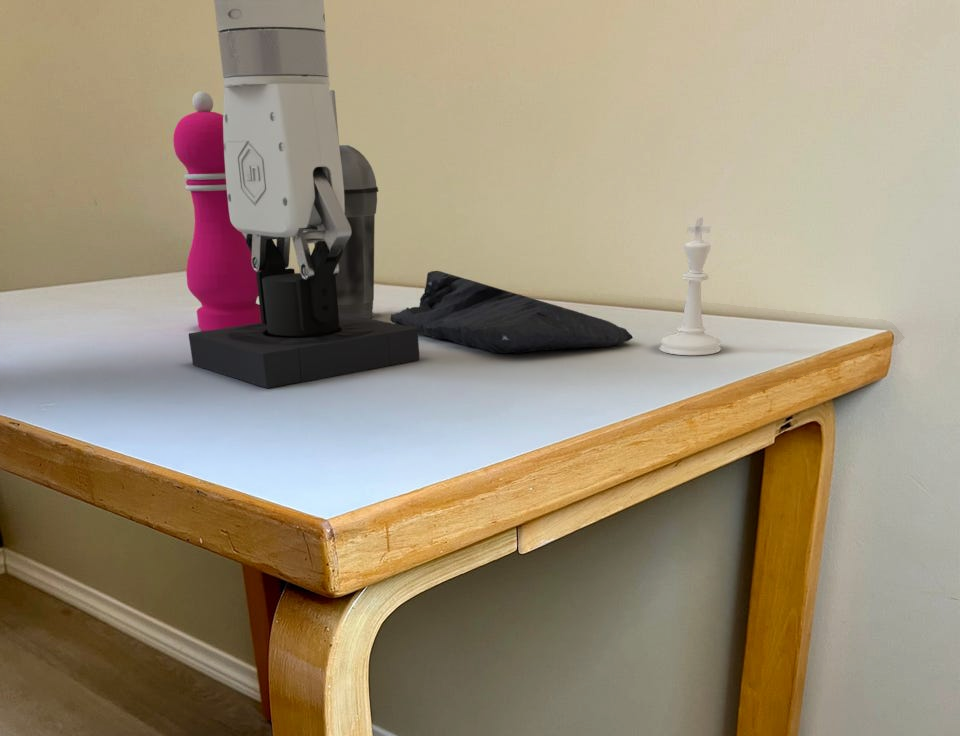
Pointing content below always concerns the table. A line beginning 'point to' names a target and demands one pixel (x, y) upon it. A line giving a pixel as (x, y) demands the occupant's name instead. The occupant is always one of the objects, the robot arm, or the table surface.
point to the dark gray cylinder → (282, 305)
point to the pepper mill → (214, 226)
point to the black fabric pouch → (502, 319)
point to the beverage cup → (357, 233)
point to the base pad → (303, 351)
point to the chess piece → (693, 303)
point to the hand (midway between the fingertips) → (299, 324)
